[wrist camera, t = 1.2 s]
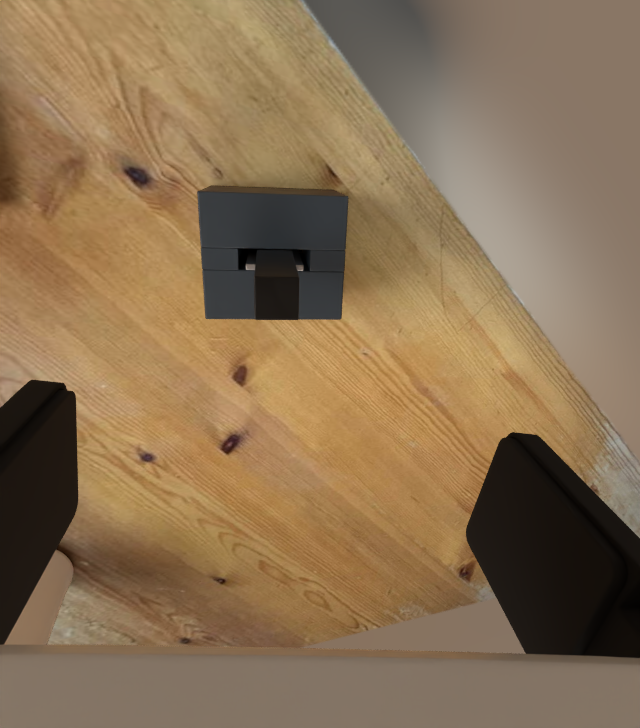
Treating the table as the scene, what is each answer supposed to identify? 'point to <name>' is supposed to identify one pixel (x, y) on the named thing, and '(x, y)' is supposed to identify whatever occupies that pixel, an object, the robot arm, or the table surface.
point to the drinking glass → (43, 604)
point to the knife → (275, 283)
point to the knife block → (272, 245)
